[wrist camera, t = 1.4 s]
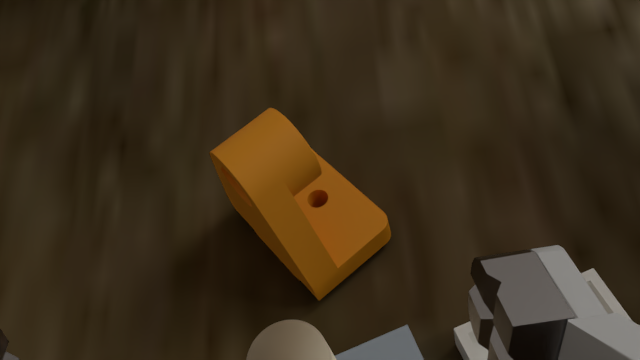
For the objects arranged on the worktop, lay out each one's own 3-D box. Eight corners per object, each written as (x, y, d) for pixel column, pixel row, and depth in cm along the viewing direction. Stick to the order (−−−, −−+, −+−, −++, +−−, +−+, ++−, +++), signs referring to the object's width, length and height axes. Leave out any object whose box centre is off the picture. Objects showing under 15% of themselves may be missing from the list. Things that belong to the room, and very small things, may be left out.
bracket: (398, 240, 44) (373, 135, 34) (321, 305, 42) (273, 215, 32) (308, 159, 50) (266, 52, 40) (238, 214, 48) (177, 115, 38)
